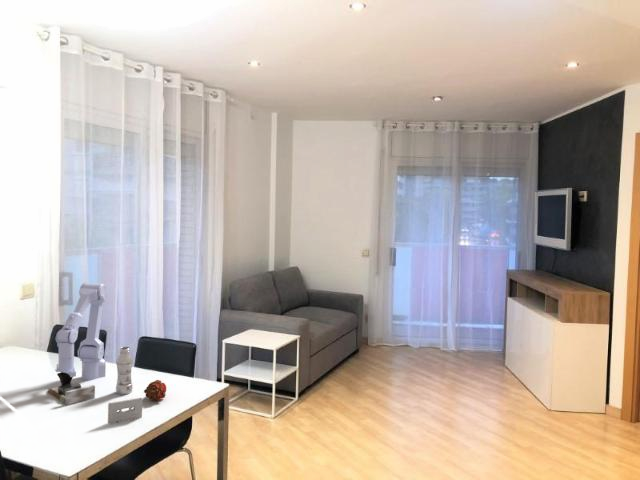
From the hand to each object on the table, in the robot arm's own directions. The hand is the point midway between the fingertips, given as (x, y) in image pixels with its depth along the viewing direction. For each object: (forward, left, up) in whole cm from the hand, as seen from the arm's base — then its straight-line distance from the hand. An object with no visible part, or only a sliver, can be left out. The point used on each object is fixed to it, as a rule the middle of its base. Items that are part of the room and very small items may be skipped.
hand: (65, 389), depth 204 cm
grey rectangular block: (0, +4, -1) cm, 4 cm away
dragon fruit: (-24, +30, -2) cm, 38 cm away
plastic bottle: (-17, +17, -2) cm, 24 cm away
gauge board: (0, +5, -2) cm, 5 cm away
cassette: (-5, +41, -2) cm, 41 cm away
